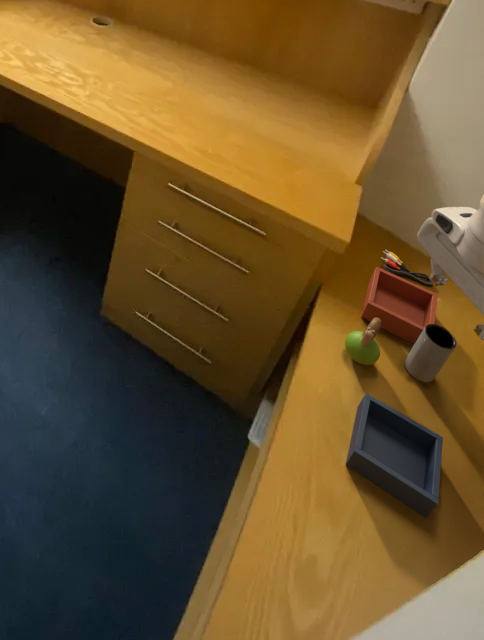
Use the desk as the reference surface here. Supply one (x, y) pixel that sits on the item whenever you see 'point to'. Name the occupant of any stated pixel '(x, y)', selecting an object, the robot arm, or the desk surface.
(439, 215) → the robot arm
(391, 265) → the composite cable
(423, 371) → the grey cylindrical cup
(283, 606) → the desk surface
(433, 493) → the slate bin
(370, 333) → the snail figurine
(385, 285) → the terracotta bin
